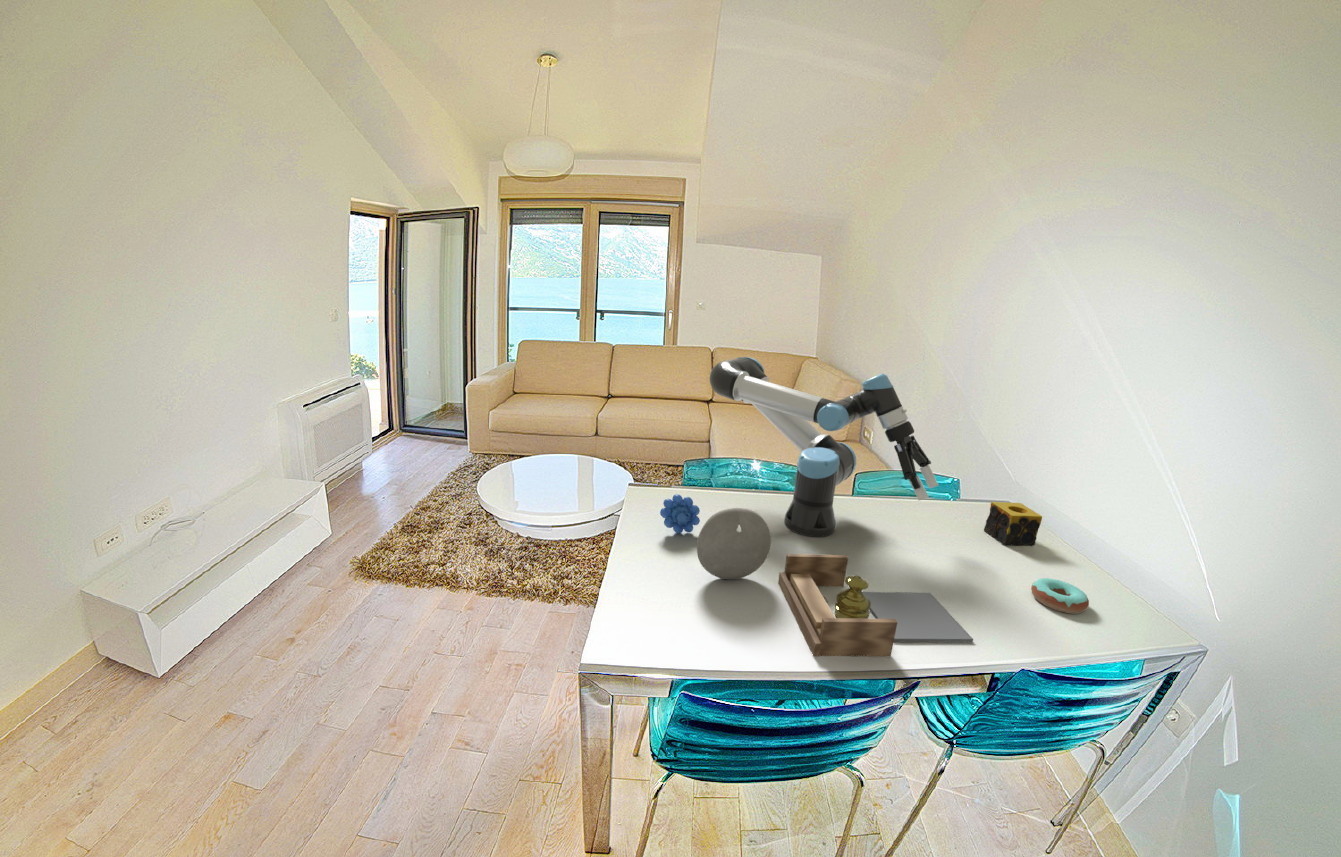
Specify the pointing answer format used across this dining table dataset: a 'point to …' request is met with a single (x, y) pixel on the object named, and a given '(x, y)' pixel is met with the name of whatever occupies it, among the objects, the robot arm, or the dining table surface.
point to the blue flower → (680, 514)
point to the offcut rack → (818, 618)
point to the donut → (1060, 595)
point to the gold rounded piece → (853, 599)
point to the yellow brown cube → (1013, 524)
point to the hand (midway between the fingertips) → (929, 492)
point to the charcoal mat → (917, 617)
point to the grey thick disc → (733, 543)
